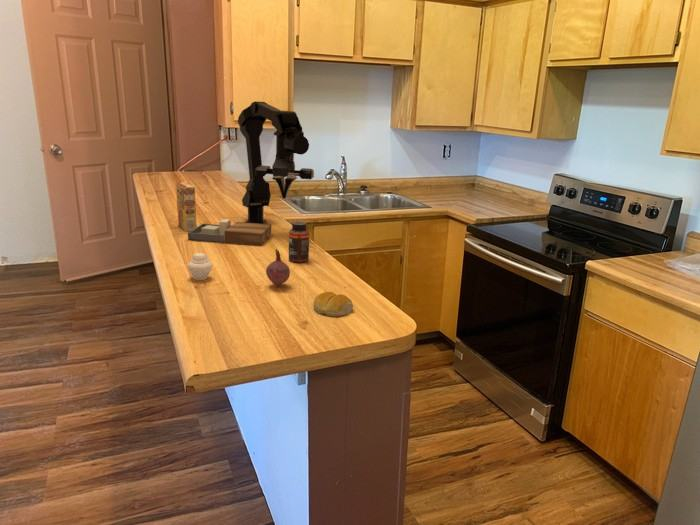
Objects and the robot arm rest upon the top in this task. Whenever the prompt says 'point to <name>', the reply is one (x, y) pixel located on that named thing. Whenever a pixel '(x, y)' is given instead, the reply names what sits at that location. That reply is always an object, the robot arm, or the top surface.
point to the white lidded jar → (199, 266)
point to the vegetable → (278, 271)
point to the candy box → (186, 206)
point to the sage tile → (210, 230)
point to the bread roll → (332, 304)
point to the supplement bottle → (298, 242)
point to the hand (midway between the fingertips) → (284, 198)
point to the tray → (205, 235)
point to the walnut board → (248, 233)
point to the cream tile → (224, 226)
